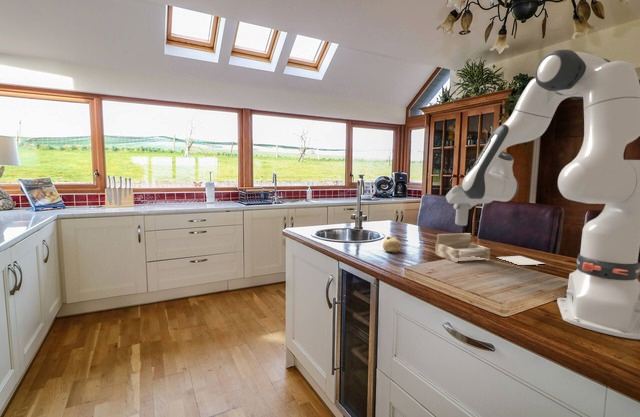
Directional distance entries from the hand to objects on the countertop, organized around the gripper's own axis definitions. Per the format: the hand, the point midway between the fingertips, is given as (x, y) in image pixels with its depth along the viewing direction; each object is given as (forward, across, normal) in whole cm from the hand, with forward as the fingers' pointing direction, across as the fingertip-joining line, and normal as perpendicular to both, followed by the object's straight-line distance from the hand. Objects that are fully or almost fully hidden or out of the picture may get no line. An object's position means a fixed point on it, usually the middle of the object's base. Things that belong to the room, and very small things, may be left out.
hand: (461, 207), depth 138 cm
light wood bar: (+11, 0, -19) cm, 22 cm away
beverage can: (+5, 0, -5) cm, 7 cm away
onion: (+24, -25, -6) cm, 35 cm away
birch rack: (+14, 0, -16) cm, 21 cm away
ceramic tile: (+6, +20, -23) cm, 31 cm away
